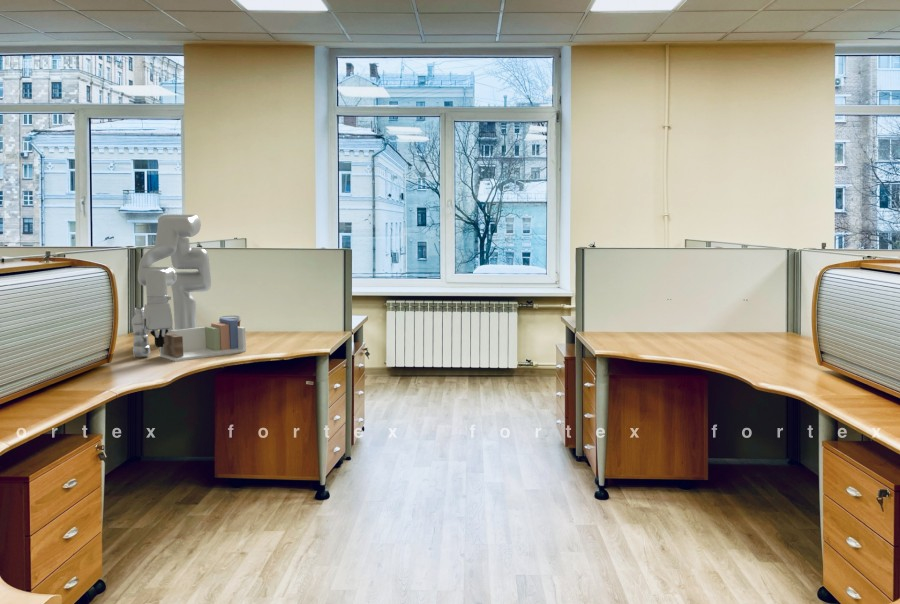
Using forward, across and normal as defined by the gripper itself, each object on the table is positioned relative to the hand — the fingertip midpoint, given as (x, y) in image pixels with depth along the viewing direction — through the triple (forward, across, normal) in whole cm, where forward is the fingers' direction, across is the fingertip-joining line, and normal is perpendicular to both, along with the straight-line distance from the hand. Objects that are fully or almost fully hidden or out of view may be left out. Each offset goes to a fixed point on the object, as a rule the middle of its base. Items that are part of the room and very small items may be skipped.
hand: (159, 346), depth 279 cm
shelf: (+5, -18, 0) cm, 19 cm away
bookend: (+4, -6, 0) cm, 7 cm away
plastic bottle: (+6, +3, -11) cm, 13 cm away
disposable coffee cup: (+6, -38, -16) cm, 41 cm away
